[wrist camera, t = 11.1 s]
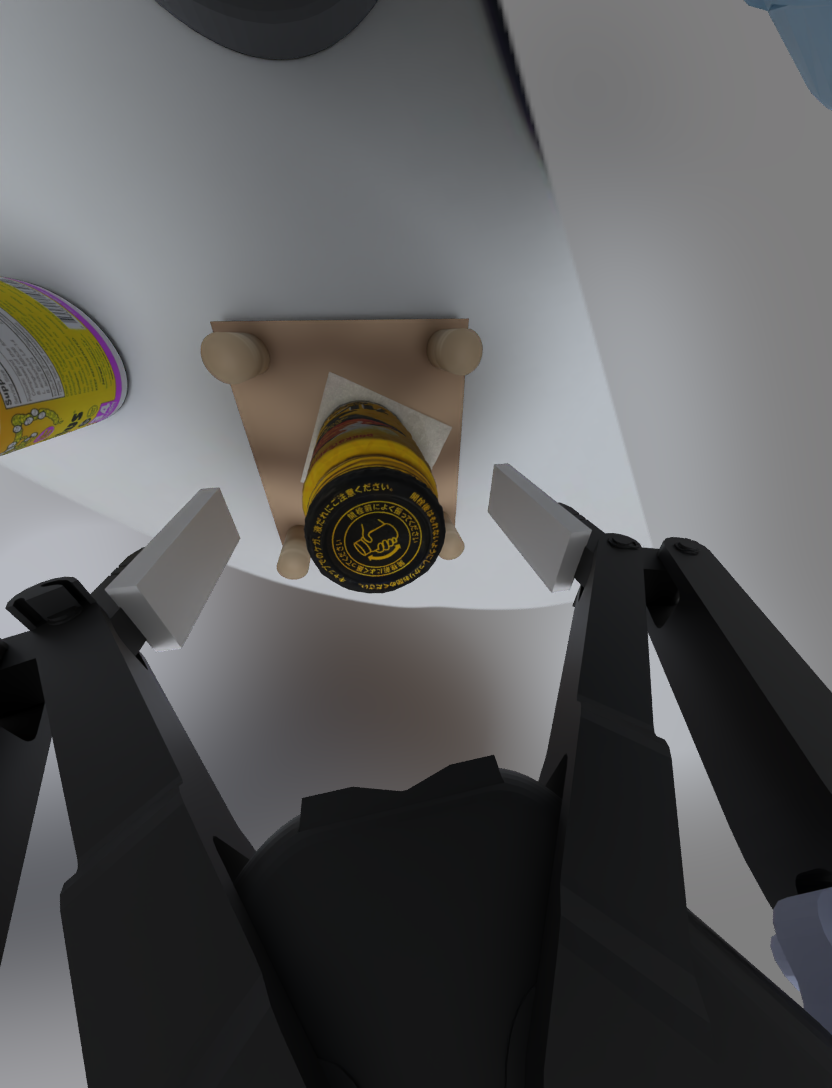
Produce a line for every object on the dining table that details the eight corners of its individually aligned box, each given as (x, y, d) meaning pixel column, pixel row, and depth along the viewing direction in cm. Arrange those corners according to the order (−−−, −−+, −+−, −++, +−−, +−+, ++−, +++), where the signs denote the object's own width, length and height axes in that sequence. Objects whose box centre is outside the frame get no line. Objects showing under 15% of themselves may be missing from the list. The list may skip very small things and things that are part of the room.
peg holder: (222, 322, 17) (173, 317, 12) (458, 319, 19) (495, 314, 14) (289, 540, 26) (275, 587, 21) (448, 522, 28) (469, 562, 23)
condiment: (329, 371, 18) (306, 413, 8) (451, 426, 21) (540, 505, 11) (300, 480, 21) (260, 603, 12) (410, 514, 24) (451, 633, 15)
